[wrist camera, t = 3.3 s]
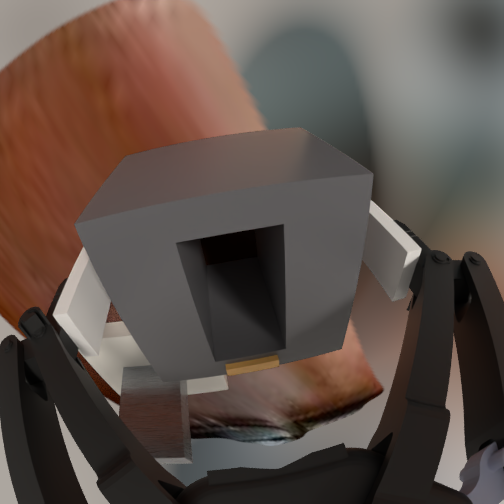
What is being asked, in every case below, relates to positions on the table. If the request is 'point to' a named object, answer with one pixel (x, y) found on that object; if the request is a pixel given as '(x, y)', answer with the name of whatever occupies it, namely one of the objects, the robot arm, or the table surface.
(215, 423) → the table surface
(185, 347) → the gray slotted block
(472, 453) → the robot arm
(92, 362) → the shaft stand
